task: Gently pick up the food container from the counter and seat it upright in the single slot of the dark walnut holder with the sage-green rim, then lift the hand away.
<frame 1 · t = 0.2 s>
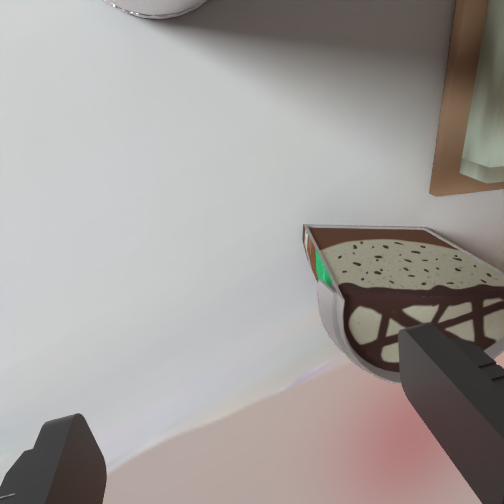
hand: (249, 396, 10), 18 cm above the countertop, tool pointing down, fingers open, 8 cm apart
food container: (356, 262, 30), on the countertop
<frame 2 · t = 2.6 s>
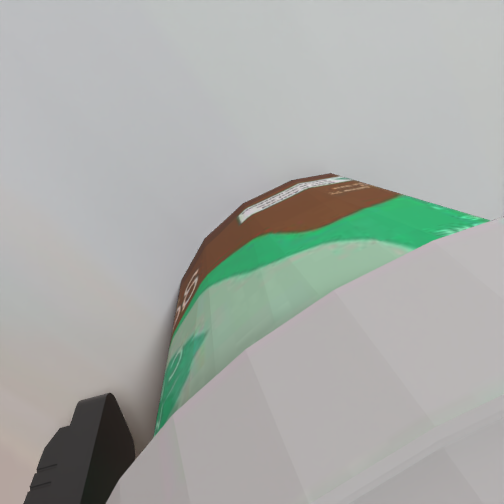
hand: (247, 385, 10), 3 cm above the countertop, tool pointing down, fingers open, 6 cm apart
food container: (234, 321, 13), on the countertop, touching gripper
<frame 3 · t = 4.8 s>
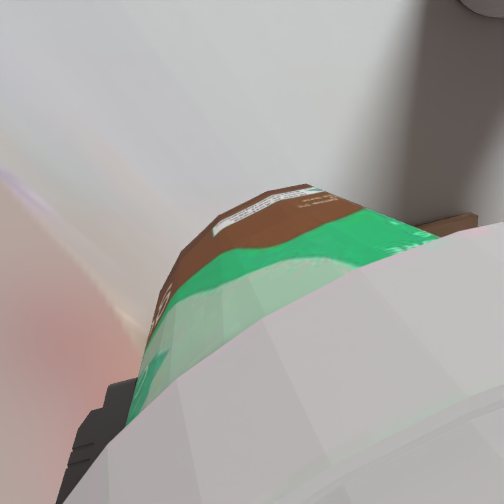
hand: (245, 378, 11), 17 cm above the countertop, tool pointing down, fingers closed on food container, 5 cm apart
holder: (388, 346, 33), on the countertop
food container: (215, 332, 13), point 14 cm above the countertop, touching gripper
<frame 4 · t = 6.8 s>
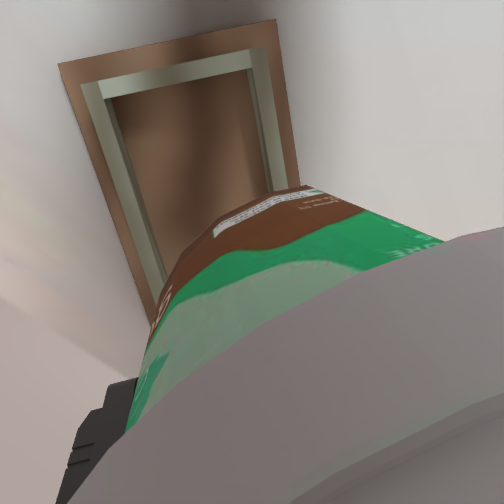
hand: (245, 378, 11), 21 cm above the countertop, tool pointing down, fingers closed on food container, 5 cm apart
holder: (205, 189, 30), on the countertop
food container: (215, 333, 13), point 19 cm above the countertop, touching gripper
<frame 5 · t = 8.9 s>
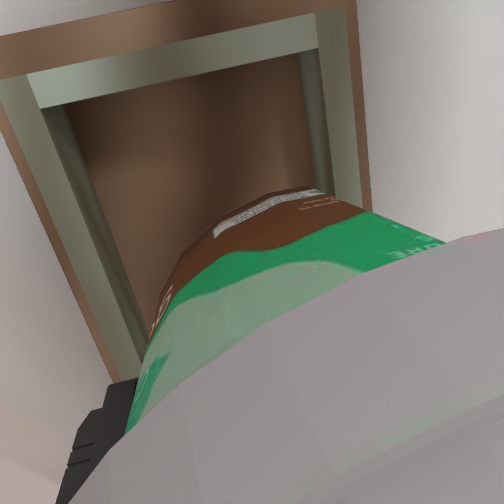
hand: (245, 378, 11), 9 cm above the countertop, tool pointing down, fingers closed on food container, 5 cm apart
holder: (224, 247, 19), on the countertop
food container: (215, 334, 13), point 6 cm above the countertop, touching gripper
when the fingers open (5 cm above the countertop, at t = 10.8 s): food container drops 1 cm, resting on holder.
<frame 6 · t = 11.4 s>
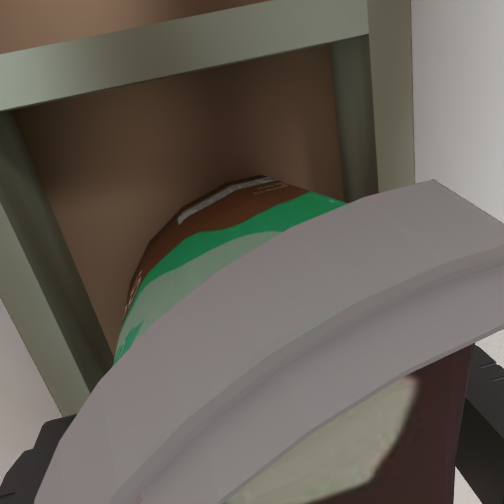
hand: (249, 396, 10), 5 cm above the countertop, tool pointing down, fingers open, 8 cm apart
holder: (228, 292, 15), on the countertop
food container: (185, 317, 14), point 1 cm above the countertop, touching holder
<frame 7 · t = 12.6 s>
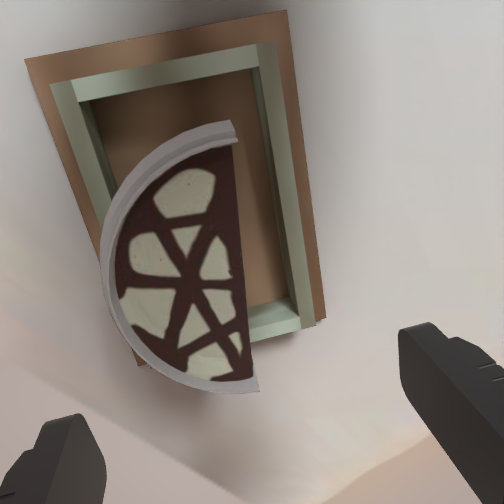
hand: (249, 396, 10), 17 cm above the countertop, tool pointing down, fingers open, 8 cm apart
holder: (201, 208, 26), on the countertop
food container: (176, 217, 25), point 1 cm above the countertop, touching holder
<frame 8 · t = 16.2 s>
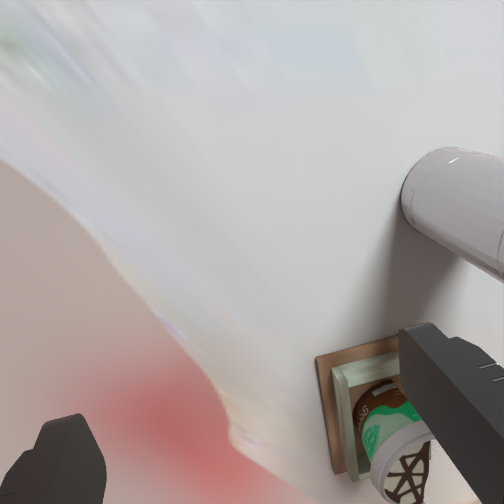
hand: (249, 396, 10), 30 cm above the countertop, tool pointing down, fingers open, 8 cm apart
holder: (376, 403, 53), on the countertop
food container: (365, 410, 52), point 1 cm above the countertop, touching holder
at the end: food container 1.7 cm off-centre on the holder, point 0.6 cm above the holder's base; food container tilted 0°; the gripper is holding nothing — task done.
